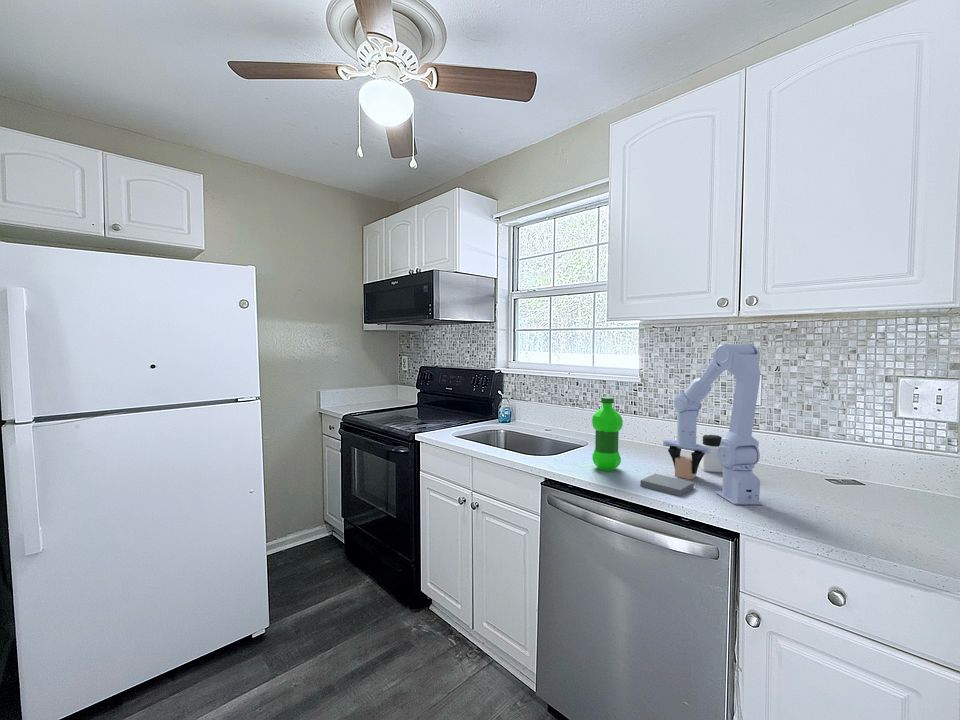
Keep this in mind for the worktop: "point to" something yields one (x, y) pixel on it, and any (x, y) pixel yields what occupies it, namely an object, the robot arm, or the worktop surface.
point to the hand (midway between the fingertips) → (685, 471)
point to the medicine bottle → (711, 454)
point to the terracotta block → (684, 467)
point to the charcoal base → (667, 484)
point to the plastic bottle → (606, 436)
